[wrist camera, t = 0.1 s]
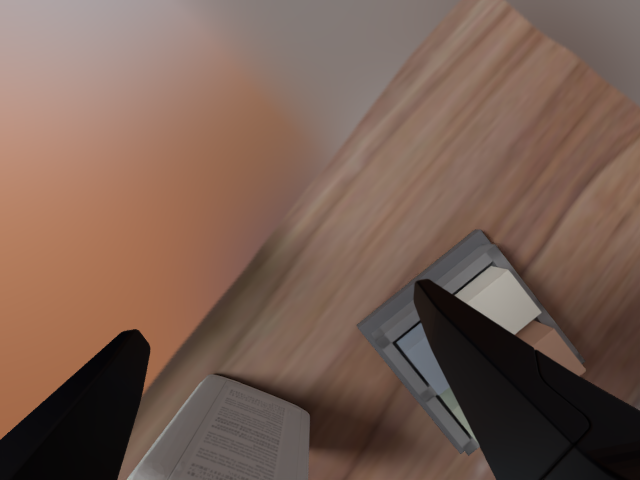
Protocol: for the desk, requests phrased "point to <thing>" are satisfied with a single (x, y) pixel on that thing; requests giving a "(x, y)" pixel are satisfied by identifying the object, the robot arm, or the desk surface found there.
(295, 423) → the photo printer
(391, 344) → the keypad board
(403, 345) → the slate-blue key
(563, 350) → the terracotta key
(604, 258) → the desk surface
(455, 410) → the sage key
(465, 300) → the cream key
